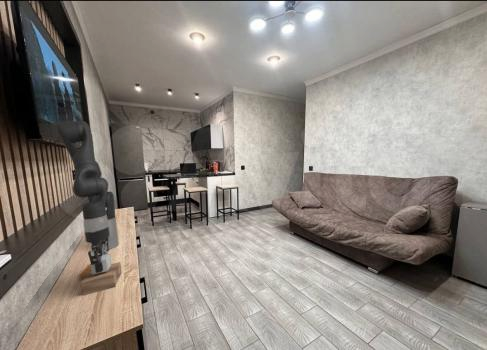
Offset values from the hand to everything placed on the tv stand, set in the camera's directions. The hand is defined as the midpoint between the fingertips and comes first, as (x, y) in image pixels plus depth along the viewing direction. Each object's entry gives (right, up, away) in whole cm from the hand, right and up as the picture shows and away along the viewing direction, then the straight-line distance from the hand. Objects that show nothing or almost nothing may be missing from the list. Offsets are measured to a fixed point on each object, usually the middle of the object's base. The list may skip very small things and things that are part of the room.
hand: (102, 267), depth 72 cm
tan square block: (0, -7, 0) cm, 7 cm away
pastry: (-11, -7, +8) cm, 15 cm away
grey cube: (0, -1, 0) cm, 1 cm away
